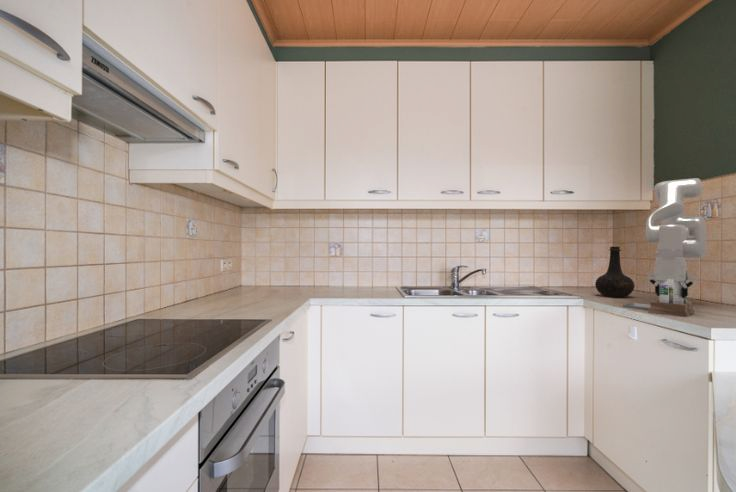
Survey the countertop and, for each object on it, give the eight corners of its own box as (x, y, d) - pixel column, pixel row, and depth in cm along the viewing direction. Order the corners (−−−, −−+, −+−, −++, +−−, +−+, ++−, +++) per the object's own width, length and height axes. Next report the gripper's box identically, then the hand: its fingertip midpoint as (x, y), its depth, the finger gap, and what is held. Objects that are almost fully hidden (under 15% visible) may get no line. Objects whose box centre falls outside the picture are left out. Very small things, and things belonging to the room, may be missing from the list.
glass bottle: (590, 296, 199) (589, 246, 199) (602, 293, 210) (602, 246, 210) (627, 299, 184) (627, 246, 185) (639, 296, 195) (638, 246, 195)
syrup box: (658, 311, 149) (657, 277, 149) (671, 311, 150) (670, 277, 150) (671, 314, 143) (670, 278, 144) (684, 314, 144) (683, 278, 144)
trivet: (631, 304, 169) (631, 302, 169) (660, 307, 160) (660, 305, 160) (622, 306, 163) (622, 304, 163) (652, 310, 154) (652, 308, 154)
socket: (657, 309, 155) (657, 299, 155) (694, 313, 145) (694, 302, 145) (648, 312, 148) (648, 301, 148) (686, 316, 138) (686, 305, 138)
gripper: (642, 254, 152) (642, 295, 151) (696, 254, 138) (696, 299, 137) (648, 253, 156) (648, 293, 156) (701, 254, 142) (701, 298, 142)
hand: (671, 296), depth 147 cm, fingers closed on syrup box, 7 cm apart
